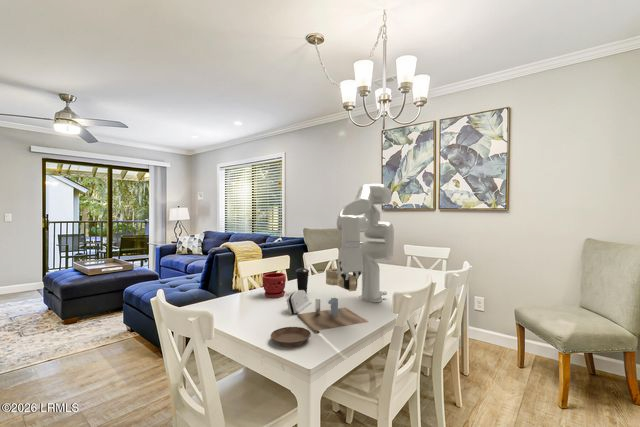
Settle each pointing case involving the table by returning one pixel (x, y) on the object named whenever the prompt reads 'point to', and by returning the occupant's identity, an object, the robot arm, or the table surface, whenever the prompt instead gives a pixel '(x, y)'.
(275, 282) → the plant pot
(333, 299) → the bracket
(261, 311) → the table surface
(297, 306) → the white rounded block
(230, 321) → the table surface
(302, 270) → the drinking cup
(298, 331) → the saucer
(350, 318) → the board
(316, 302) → the peg
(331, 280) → the link
